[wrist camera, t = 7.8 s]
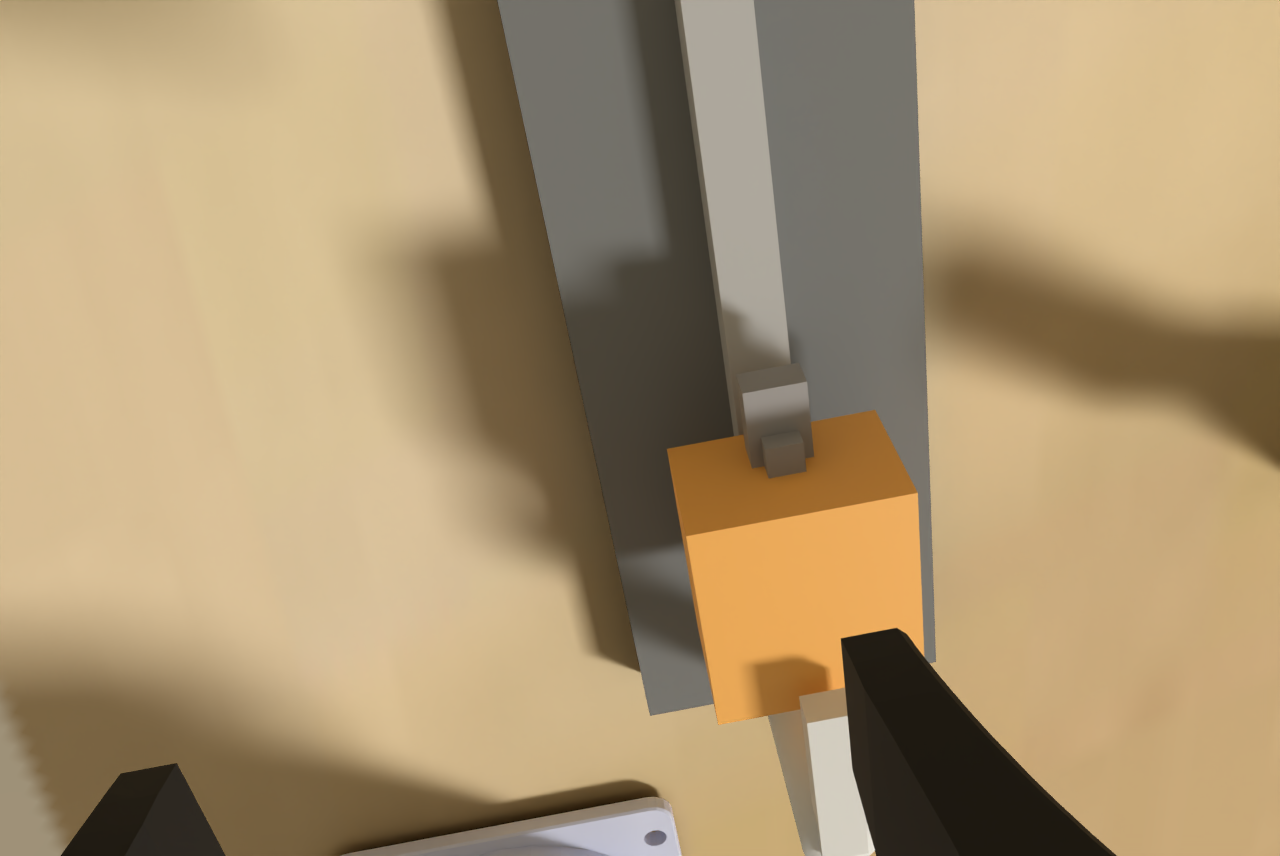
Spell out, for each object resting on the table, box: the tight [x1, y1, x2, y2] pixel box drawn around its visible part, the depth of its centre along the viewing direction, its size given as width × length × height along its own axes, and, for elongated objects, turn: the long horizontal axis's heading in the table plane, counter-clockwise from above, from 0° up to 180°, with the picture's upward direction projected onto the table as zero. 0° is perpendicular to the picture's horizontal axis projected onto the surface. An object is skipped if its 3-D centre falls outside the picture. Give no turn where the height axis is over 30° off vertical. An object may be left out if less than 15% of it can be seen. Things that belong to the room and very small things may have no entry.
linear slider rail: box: [497, 0, 936, 856], centre depth 20 cm, size 15×6×6 cm, turn 9°
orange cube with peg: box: [667, 363, 924, 725], centre depth 20 cm, size 5×4×2 cm, turn 9°
